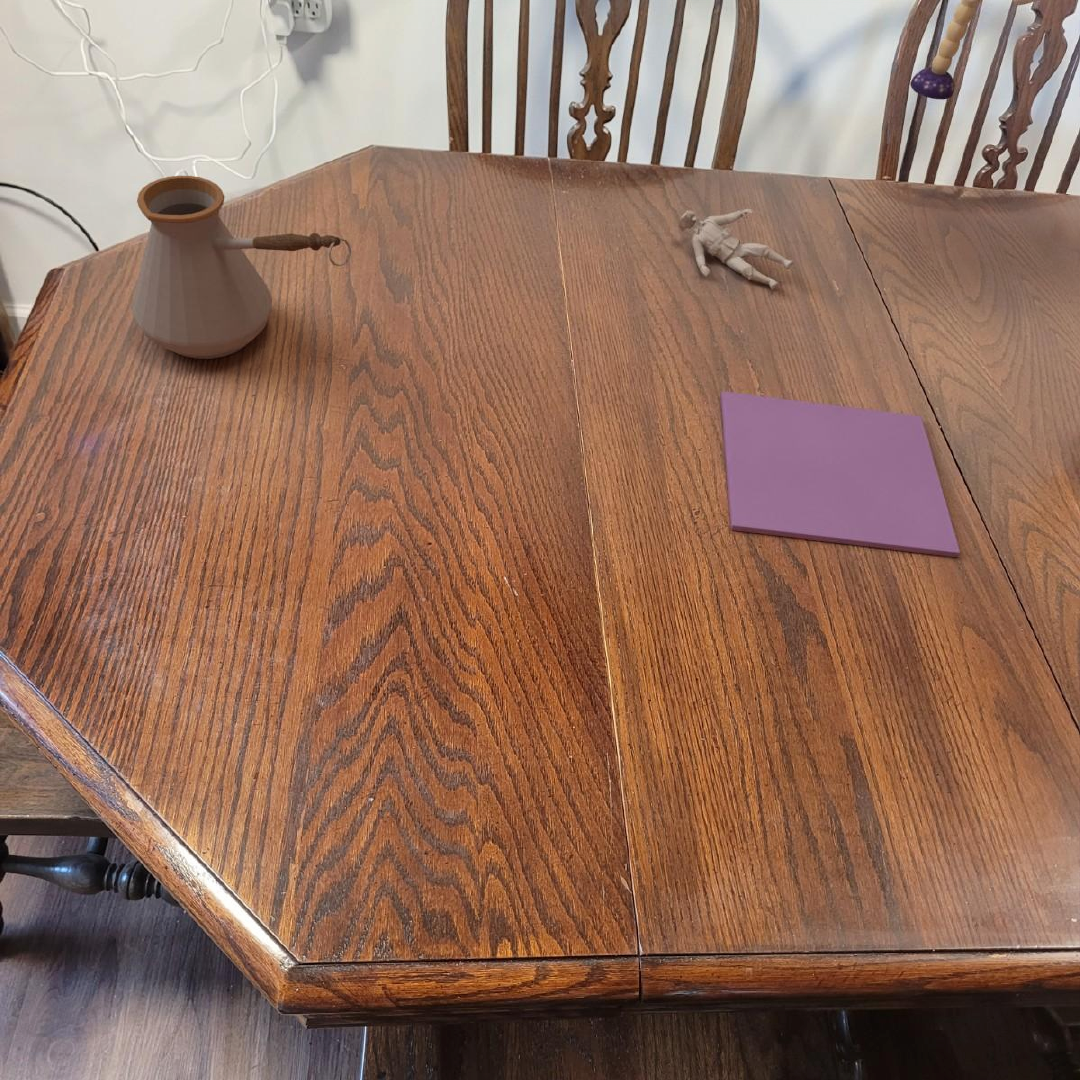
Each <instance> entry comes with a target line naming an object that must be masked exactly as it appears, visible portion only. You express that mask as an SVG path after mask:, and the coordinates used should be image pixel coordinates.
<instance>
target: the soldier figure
mask: <svg viewBox="0 0 1080 1080" xmlns="http://www.w3.org/2000/svg"><path fill="white" fill-rule="evenodd" d="M695 213H696V211H694V210H691V209H687V210H685V212H684V213H682V215H681V217H680V220H679V222H678V228H679V229H680V232H681V233H683V232H684V231H685V230H686V229H688V230H691V229H692V231H693V233H694V234H693V235H692V238H691V243H692V247H693V250H694V251H693V252H694V256H695V260H696V264H697V267H698V269H699V270H700V272H701V274H703V276H704V277H708V275H709V274H710V272H711V269H709V268H708V267H707V266H706V265H707V263H706V258H705V250H704V248H705V249H707V252H708V253H709V254H710V255H711V256H712V257H714V256H715V257H716V258H717V259H719V260H720V261H721V262H722V263H723V264H724V265H726V266H728V267H729V268H730V269H732V270H734V271H735V272H736V273H739V274H741V275H742V276H743V277H744V278H747V279H748V281H752V280H754V281H758V282H761V283H764V284H768V286H769V287H770V289H772V290H775V288H776V287H777V286H778V285H779V282H777V280H775V279H774V278H772V277H768V276H766V275H764V274H763V273H762V272H760V271H758V270H757V269H756V268H755V267H754V266H753V265H752V264H750V263H748V262H747V261H745V260H744V258H745V259H746V258H751V257H752V258H764V259H766V260H767V259H768V260H770V261H772V262H775V263H779V264H781V265H783V267H784V268H785V269H787V270H790V268H792V266H793V265H794V263H795V261H794V260H789V259H786V258H785V257H783V256H782V255H780V254H779V253H778V252H776V251H775V250H774V249H772V248H771V247H770V246H769V245H767V244H765V245H764V244H762V243H758V242H757V243H756V242H747V243H741V240H740V239H738V238H736V237H734V235H732V234H733V230H732V231H731V230H730V229H729V228H727V227H724V229H723V227H722V226H724V225H725V226H726V225H730V224H733V223H736V221H738V220H739V219H741V218H743V217H744V218H748V217H747V216H746V215H747V214H751V213H754V210H752V208H751V209H750V208H745V209H740V210H738V211H734V212H730V213H727V214H720V215H708V216H707V217H706V218H705V219H703V220H698V216H696V215H695Z"/></svg>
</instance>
